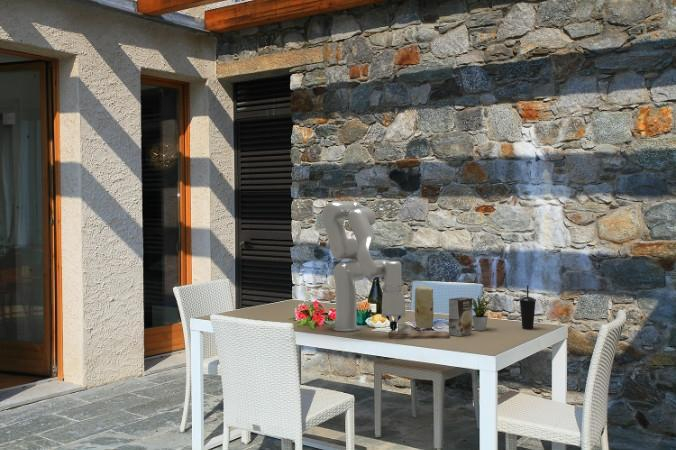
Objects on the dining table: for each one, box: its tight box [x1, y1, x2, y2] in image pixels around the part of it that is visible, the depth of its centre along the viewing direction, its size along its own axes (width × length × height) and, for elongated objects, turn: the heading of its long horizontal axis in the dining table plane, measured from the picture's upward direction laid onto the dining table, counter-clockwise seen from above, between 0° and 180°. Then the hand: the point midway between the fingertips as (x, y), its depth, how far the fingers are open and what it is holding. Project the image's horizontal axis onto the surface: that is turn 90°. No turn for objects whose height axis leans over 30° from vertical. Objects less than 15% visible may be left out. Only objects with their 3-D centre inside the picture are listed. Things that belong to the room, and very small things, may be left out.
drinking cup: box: [518, 285, 537, 330], centre depth 340 cm, size 8×8×20 cm
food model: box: [414, 285, 434, 329], centre depth 342 cm, size 10×7×20 cm
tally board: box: [388, 330, 451, 340], centre depth 324 cm, size 26×10×1 cm, turn 89°
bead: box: [397, 322, 411, 334], centre depth 324 cm, size 5×6×4 cm
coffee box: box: [448, 297, 473, 337], centre depth 328 cm, size 9×6×16 cm
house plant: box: [470, 294, 495, 332], centre depth 338 cm, size 14×14×16 cm
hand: (393, 330), depth 324 cm, fingers closed
